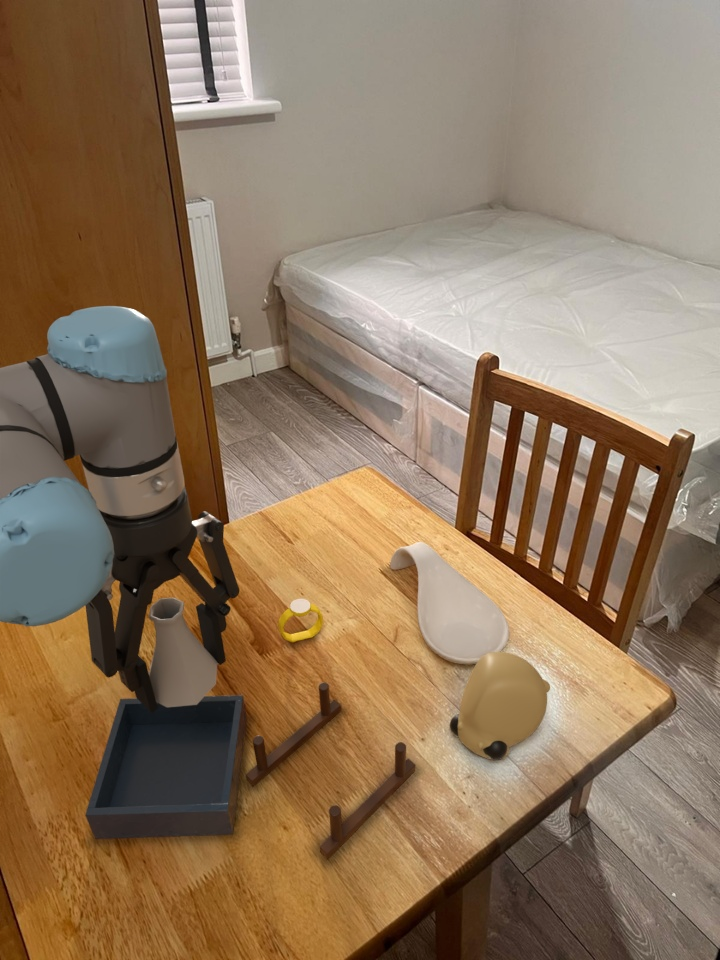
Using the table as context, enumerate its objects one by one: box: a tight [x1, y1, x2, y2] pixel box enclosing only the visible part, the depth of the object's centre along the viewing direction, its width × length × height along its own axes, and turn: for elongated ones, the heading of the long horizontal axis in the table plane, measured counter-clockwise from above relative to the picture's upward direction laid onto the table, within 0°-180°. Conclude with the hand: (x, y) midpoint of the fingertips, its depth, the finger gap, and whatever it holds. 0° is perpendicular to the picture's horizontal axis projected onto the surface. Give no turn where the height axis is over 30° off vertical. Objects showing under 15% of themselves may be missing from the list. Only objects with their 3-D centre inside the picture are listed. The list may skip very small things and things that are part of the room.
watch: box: [277, 598, 324, 643], centre depth 99 cm, size 6×3×6 cm, turn 111°
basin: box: [85, 694, 248, 840], centre depth 82 cm, size 15×15×5 cm
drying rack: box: [245, 681, 416, 860], centre depth 81 cm, size 14×13×6 cm
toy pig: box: [449, 651, 551, 761], centre depth 85 cm, size 10×12×11 cm
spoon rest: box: [389, 541, 510, 665], centre depth 101 cm, size 24×12×7 cm, turn 25°
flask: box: [148, 596, 218, 707], centre depth 71 cm, size 7×7×10 cm
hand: (182, 678), depth 74 cm, fingers closed on flask, 7 cm apart
